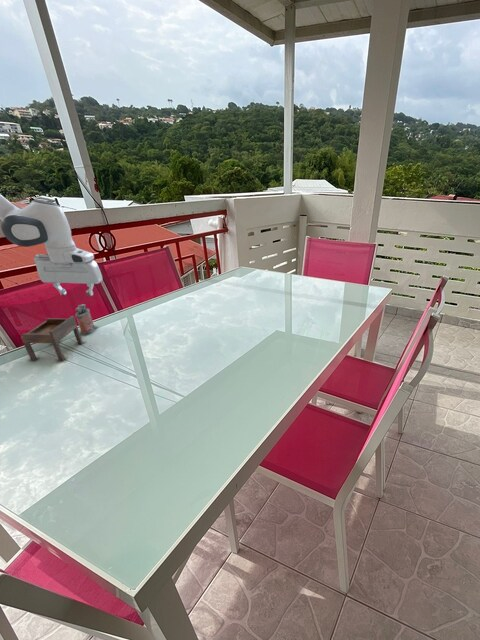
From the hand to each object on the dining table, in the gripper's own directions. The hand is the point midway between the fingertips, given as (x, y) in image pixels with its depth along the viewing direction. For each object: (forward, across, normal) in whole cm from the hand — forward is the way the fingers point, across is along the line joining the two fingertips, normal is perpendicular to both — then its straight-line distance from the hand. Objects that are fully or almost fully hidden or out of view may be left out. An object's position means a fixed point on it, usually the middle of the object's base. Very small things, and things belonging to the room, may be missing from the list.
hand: (77, 295), depth 122 cm
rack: (+14, -2, -18) cm, 23 cm away
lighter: (+14, 0, 0) cm, 14 cm away
